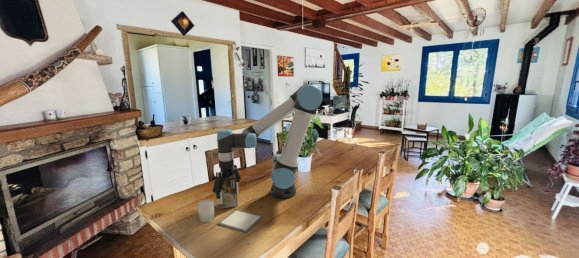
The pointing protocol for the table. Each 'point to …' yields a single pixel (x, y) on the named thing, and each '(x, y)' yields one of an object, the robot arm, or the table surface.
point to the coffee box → (229, 192)
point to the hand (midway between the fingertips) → (228, 198)
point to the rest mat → (240, 220)
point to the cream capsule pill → (206, 211)
